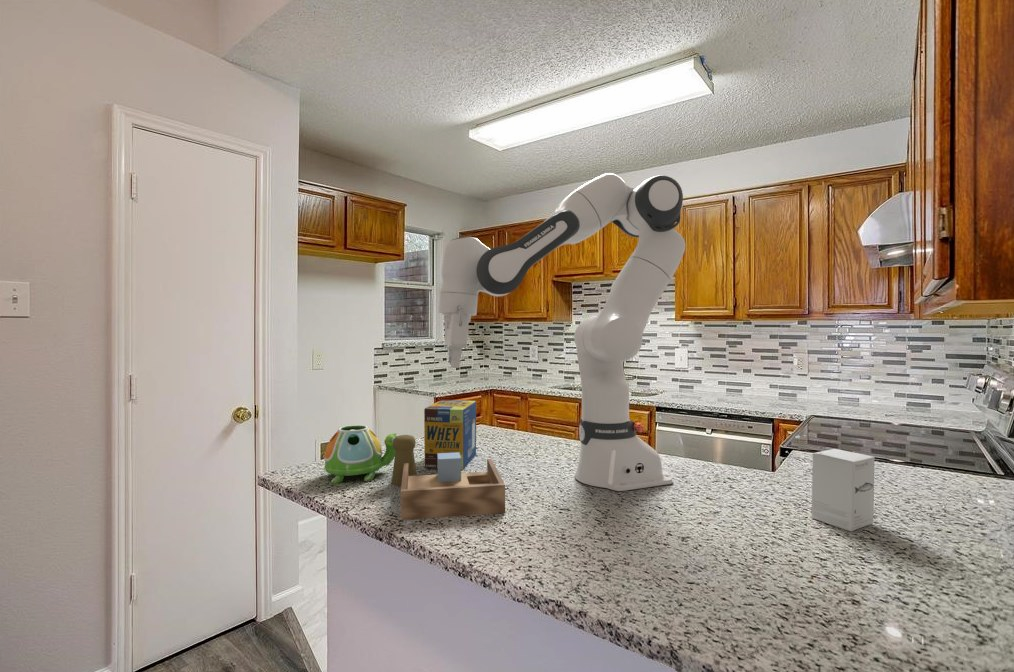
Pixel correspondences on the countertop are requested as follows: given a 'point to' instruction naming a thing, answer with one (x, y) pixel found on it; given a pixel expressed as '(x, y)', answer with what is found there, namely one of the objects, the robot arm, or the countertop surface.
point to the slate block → (449, 467)
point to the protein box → (450, 430)
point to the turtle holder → (357, 453)
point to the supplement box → (843, 488)
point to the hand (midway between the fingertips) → (453, 366)
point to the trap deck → (452, 494)
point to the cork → (403, 457)
